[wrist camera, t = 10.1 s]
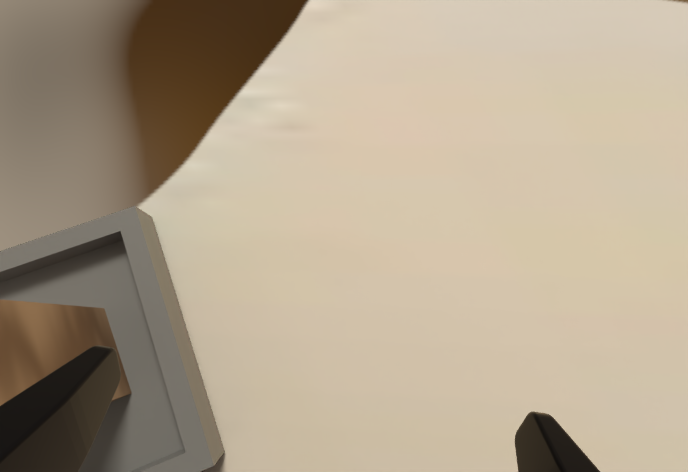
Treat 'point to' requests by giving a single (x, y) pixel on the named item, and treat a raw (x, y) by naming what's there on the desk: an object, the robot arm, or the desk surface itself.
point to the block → (48, 342)
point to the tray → (126, 339)
